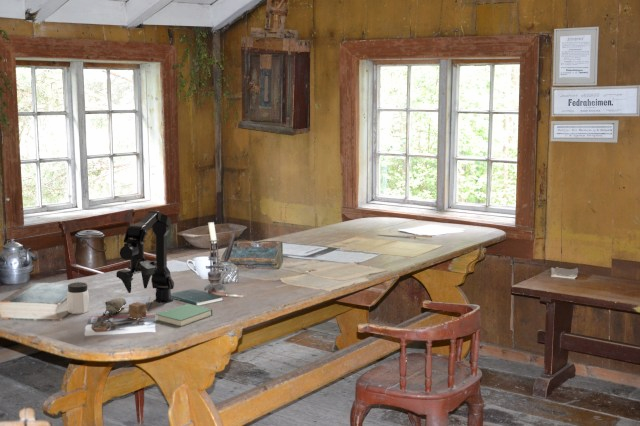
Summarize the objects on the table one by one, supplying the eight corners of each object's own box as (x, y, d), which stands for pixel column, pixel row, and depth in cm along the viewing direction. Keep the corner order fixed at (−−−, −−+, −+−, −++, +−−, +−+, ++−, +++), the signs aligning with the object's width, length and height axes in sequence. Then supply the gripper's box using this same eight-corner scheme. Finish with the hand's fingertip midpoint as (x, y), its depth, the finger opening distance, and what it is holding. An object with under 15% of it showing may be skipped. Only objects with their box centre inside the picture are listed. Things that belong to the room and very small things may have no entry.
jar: (92, 311, 360) (91, 285, 357) (75, 315, 354) (74, 288, 352) (81, 307, 366) (80, 281, 363) (64, 310, 360) (63, 284, 358)
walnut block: (137, 315, 356) (137, 301, 355) (146, 317, 353) (145, 303, 352) (129, 318, 352) (128, 304, 351) (137, 320, 349) (137, 306, 348)
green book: (188, 310, 366) (188, 303, 365) (212, 315, 358) (212, 309, 358) (156, 321, 349) (156, 314, 349) (180, 327, 342) (180, 320, 341)
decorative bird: (129, 309, 365) (129, 293, 364) (111, 319, 350) (111, 302, 348) (118, 308, 366) (118, 291, 365) (100, 318, 351) (100, 301, 350)
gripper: (134, 261, 336) (135, 298, 338) (166, 253, 351) (166, 289, 354) (115, 257, 342) (115, 294, 344) (147, 250, 357) (148, 284, 360)
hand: (137, 290), depth 350 cm, fingers open, 9 cm apart
